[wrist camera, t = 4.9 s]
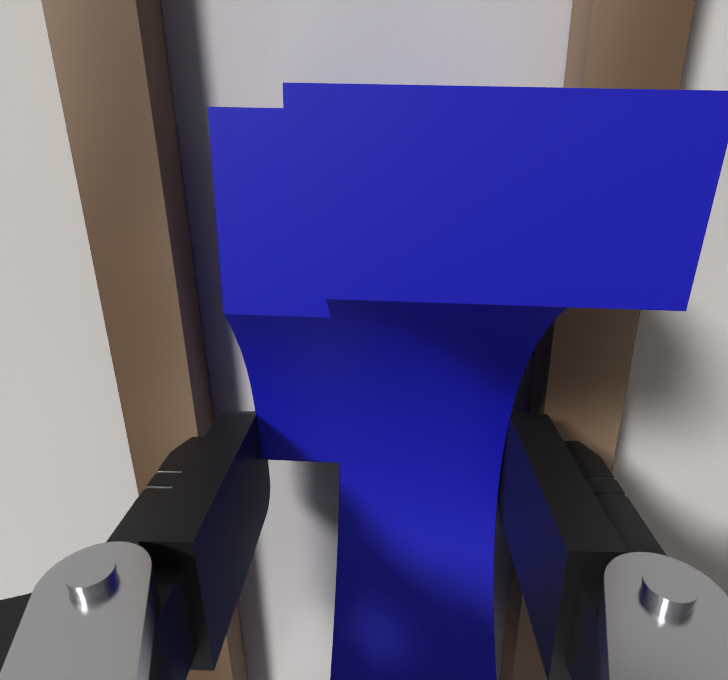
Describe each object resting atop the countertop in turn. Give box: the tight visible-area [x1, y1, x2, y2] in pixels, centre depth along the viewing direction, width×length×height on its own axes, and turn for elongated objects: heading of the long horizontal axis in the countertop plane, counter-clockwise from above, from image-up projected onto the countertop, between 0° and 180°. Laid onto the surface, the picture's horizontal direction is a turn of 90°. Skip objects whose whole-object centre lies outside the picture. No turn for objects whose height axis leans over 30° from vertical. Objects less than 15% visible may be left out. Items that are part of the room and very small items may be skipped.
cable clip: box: [207, 83, 728, 680], centre depth 8 cm, size 12×4×6 cm, turn 179°
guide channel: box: [41, 0, 695, 680], centre depth 8 cm, size 11×26×5 cm, turn 1°
